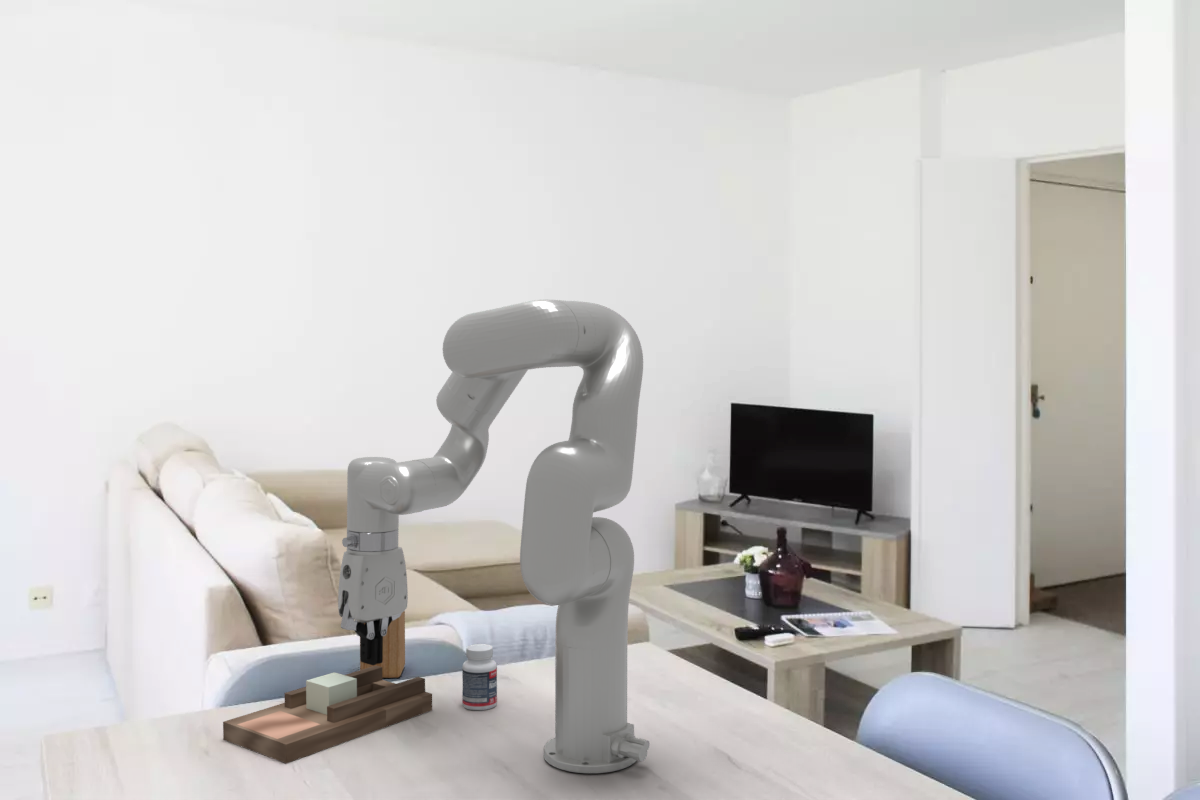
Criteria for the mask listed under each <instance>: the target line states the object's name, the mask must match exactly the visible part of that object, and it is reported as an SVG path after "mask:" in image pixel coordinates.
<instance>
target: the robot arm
mask: <svg viewBox="0 0 1200 800" xmlns="http://www.w3.org/2000/svg"><path fill="white" fill-rule="evenodd" d="M442 356H443V359H444V363H445V364H446V366H447V367H448V369H449V370H450V371H451V374H450V375H449V377H448V379H447V380H446V381H445V383H444V384H443V385H442V387H441V388H440V390H439V392H438V393H437V396H436V406H437V409H438V411H439V413H440V414H441V415H442V416H443V418H444V419H445V420H446V421H447V422H448V423H450V425H451V426H450V430H449V432H448V434H447V436H446V438H445V440H444V441H443V443H442V444H441V446H440V447H439V449H438V450H437V452H436V453H435V454H434V455H433V456H432V457H427V458H426V457H425V458H419V459H412V460H407V461H399V462H397V461H396V460H395V459H393V458H390V457H383V456H381V457H380V456H365V457H356V458H354V459H352V460H351V461H350V462H349V463H348V464H347V465H348V466H347V474H346V475H347V477H346V480H347V481H346V482H347V484H346V485H347V489H346V492H347V495H346V503H347V504H346V537H343V538H342V541H341V545H342V546H343V547H345V548H346V551H344V552H343V556H342V559H341V560H342V561H341V566H340V571H339V572H340V573H339V580H338V581H339V582H338V591H337V592H338V593H337V594H338V596H337V605H338V606H337V609H338V615H339V616H340V618H341V621H340V628H341V629H342V630H347V631H354V632H355V633H356V636H357V637H359V661H360V660H361V662H363V663H367V664H370V665H376V664H380V663H382V662H383V636H385V635H386V633H387V628H388V626H389V625H390V623H391V621H393V620H395V619H397V618H399V617H400V616H401V613H402V612H404V611H405V612H406V610H407V608H408V603H409V601H408V600H409V599H408V598H409V597H408V596H409V595H408V594H409V593H408V592H409V591H408V589H409V588H408V574H407V565H406V560H405V554H404V551H403V548H402V547H401V546H399V526H400V525H399V524H400V523H399V518H400V517H399V516H401V515H402V516H404V515H412V514H415V513H416V514H417V513H421V512H424V511H428V510H433V509H437V508H438V509H439V508H443V507H447V506H450V505H451V504H453V503H454V502H455V501H457V500H458V499H459V498H460V497H461V496H462V495H463V494H464V493H465V491H467V489H468V487H469V486H470V485H471V483H472V482H473V481H474V479H475V477H477V474H478V473H479V471H480V469H482V466H483V464H484V462H485V460H486V456H487V452H488V446H489V441H490V438H489V437H490V436H489V435H490V434H489V429H490V426H491V425H492V423H493V421H494V420H495V419H496V417H497V416H498V415H499V413H500V411H501V410H502V409H503V407H504V406H505V404H506V403H507V401H508V400H509V398H510V397H511V395H512V394H513V393H514V391H515V389H516V388H517V387H518V385H519V384H520V382H521V381H522V380H523V378H524V376H525V375H526V373H528V370H536V369H544V368H565V367H567V368H568V367H569V368H570V367H571V368H572V367H579V368H581V369H582V371H583V375H582V378H581V380H580V383H579V385H578V387H577V390H576V392H575V396H574V397H573V398H574V399H573V403H572V412H571V413H572V416H571V425H570V432H569V438H568V440H564V441H559V442H556V443H553V444H551V445H549V446H546V447H545V448H544V449H543V450H542V451H541V452H540V453H539V454H538V455H537V456H536V457H535V459H534V460H533V462H532V465H531V466H530V469H529V471H528V475H527V479H526V483H525V491H524V500H523V501H524V502H523V515H522V527H521V536H520V538H521V539H520V547H519V549H520V550H519V567H520V573H521V577H522V581H523V583H524V585H525V588H526V589H527V591H528V592H529V593H530V595H531V596H533V598H534V599H535V600H537V601H539V602H541V603H543V604H546V605H550V606H557V610H556V617H555V640H554V641H555V643H554V646H555V647H554V648H555V651H554V654H555V655H554V656H555V658H554V659H555V660H554V666H555V667H554V669H555V670H554V671H555V673H554V675H555V676H554V678H555V680H554V683H555V687H554V688H555V692H554V693H555V694H554V696H555V697H554V701H555V702H554V703H555V704H554V706H555V707H554V709H555V710H554V712H555V713H554V715H555V716H554V717H555V718H554V724H555V725H554V726H555V727H554V728H555V729H554V731H555V732H554V733H555V734H554V735H555V737H553V738H550V740H549V741H548V740H547V742H546V743H545V744H544V746H543V758H544V760H545V762H546V763H548V764H549V765H550V766H552V767H553V768H556V769H559V770H562V771H566V772H571V773H576V774H605V773H612V772H616V771H621V770H623V769H626V768H628V767H630V766H632V765H633V764H635V763H636V762H637V761H638V762H644V761H645V760H646V758H647V756H648V750H649V749H650V745H651V744H650V741H649V740H647V739H643V738H638V737H636V735H635V724H634V723H629V722H628V642H629V641H628V639H629V638H628V637H629V635H628V633H629V624H628V623H629V606H630V605H629V604H630V594H631V587H632V581H633V575H634V569H635V551H634V550H635V549H634V546H633V545H634V544H633V543H632V539H631V537H630V536H629V534H628V532H627V531H626V529H625V528H624V527H622V525H620V524H619V523H618V522H616V521H615V520H612V519H609V518H607V517H600V516H593V515H594V513H596V512H601V511H605V510H607V509H611V508H612V507H615V506H617V505H619V504H620V503H622V501H624V500H625V499H626V498H627V497H628V494H629V492H630V490H631V486H632V481H633V475H634V472H633V471H634V463H635V462H634V460H635V452H636V451H635V450H636V438H637V433H638V432H637V429H638V414H639V403H640V396H641V390H642V389H641V388H642V383H643V382H642V381H643V374H644V353H643V348H642V344H641V340H640V338H639V336H638V334H637V332H636V331H635V328H634V327H633V326H632V324H630V322H629V321H628V320H627V319H626V318H625V317H623V316H622V315H621V314H620V313H618V312H617V311H615V310H614V309H611V308H610V307H607V306H604V305H601V304H598V303H594V302H587V301H579V300H560V299H559V300H558V299H535V300H530V301H525V302H524V301H523V302H520V303H514V304H511V305H507V306H501V307H496V308H492V309H487V310H483V311H482V310H481V311H477V312H473V313H469V314H466V315H462V316H461V317H459V318H457V320H456V321H454V322H453V323H452V324H451V325H450V327H449V328H448V330H447V331H446V333H445V335H444V339H443V342H442ZM364 623H365V624H364Z"/></svg>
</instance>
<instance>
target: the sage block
mask: <svg viewBox="0 0 1200 800" xmlns="http://www.w3.org/2000/svg"><path fill="white" fill-rule="evenodd" d="M305 687H306V708H307V709H310V710H313V711H317V712H320V713H323V714H326V715H327V706H330V705H333V704H336V703H339V702H342V701H345V700H348V699H351V698H354V697H357V679H356V678H353V677H349V676H346V674H341V673H338V672H334V671H333V672H330V673H327V674H325V675H321V676H317V677H313V678H311V679H307V680H305Z"/></svg>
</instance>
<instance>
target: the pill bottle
mask: <svg viewBox="0 0 1200 800" xmlns="http://www.w3.org/2000/svg"><path fill="white" fill-rule="evenodd" d="M465 651H466V652H465V655H466V658H467V659H466V660H465V661H464V662H463V663H462V666H461V667H462V671H461V672H462V675H461V676H462V678H461V679H462V689H461V690H462V692H461V693H462V695H461V697H462V699H461V700H462V707H463V708H464V709H467V710H470V711H486V710H489V709H493V708H495V707H496V706H497V704H498V667H497V666H498V665H497V662H496V661H495V660H493V659H492V658H493V656H494V648H493V645H490V644H485V643H477V644H470V645H468V646H466V648H465Z"/></svg>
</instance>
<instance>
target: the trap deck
mask: <svg viewBox="0 0 1200 800" xmlns="http://www.w3.org/2000/svg"><path fill="white" fill-rule="evenodd" d="M345 675H346V676H349V677H353V678H356V679H357V697H354V698H351V699H348V700H345V701H342V702H339V703H336V704H333V705H330V706H327V715H326V714H323V713H320V712H317V711H313V710H310V709H307V708H306V686H303V687H301V688H296V689H293V690H290V691H286V692H284V694H283V695H284V702H282V703H279V704H275V705H273V706H269V707H266V708H263V709H259V710H257V711H254V712H251V713H247V714H243V715H241V716H237V717H235V718H234V717H233V718H231V719H228V720H225V721H222V723H223V724H222V730H223V733H222V736H223V737H222V739H223V740H224V741H226V742H228V743H230V744H234V745H236V746H239V747H241V746H242V748H245V749H247V750H249V749H250V751H252V752H255V753H257V752H258V753H257V754H260V753H261V754H260V755H262V756H266V757H269V758H271V759H274V760H276V761H278V762H282V763H284V764H288V763H291V762H294V761H297V760H301V759H302V758H304V757H307V756H311V755H313V754H316V753H319V752H322V751H324V750H327V749H330V748H332V747H336V746H338V745H341V744H343V743H346V742H349V741H352V740H354V739H357V738H360V737H362V736H365V735H368V734H370V733H374V732H376V731H378V730H381V729H385V728H387V727H390V726H393V725H395V724H398V723H401V722H403V721H406V720H410V719H412V718H415V717H418V716H420V715H424V714H426V713H428V712H432V711H433V693H431V692H427V691H426V678H424V677H421V676H417V677H413V678H410V679H407V680H404V681H400V682H398V683H395V682H391V681H387V680H384V678H382V667H380V666H372V667H369V668H366V669H362V670H359V669H358V670H357V671H353V672H350V673H347V674H345Z"/></svg>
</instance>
